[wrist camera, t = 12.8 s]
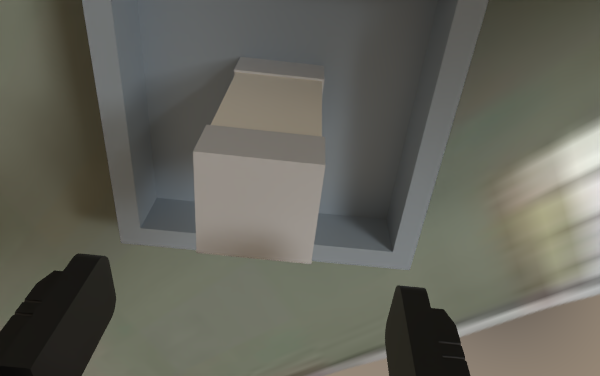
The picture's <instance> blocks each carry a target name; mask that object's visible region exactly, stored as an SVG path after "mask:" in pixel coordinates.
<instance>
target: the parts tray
mask: <svg viewBox="0 0 600 376" xmlns="http://www.w3.org/2000/svg"><path fill="white" fill-rule="evenodd" d="M488 1H489V0H82V4H83V10H84V16H85V22H86V29H87V35H88V41H89V47H90V54H91V60H92V66H93V72H94V78H95V85H96V91H97V97H98V103H99V109H100V116H101V122H102V128H103V134H104V140H105V147H106V153H107V159H108V165H109V171H110V178H111V184H112V190H113V196H114V203H115V209H116V215H117V221H118V227H119V234H120V240H121V243H126V244H137V245H147V246H158V247H169V248H179V249H190V250H196V222H195V194H194V166H193V150H194V148H195V146H196V144H197V142H198V140H199V138H200V136H201V134H202V132H203V130H204V128H205V127H206V125H211V123H212V121H213V119H214V117H215V115H216V113H217V111H218V109H219V106H220V104H221V102H222V100H223V98H224V96H225V94H226V92H227V90H228V88H229V86H230V84H231V82H232V80H233V78H234V69H235V67H236V65H237V63H238V61H239V59H240V57H248V58H257V59H266V60H276V61H285V62H294V63H303V64H313V65H322V66H324V86H323V94H322V137H325V172H324V179H323V185H322V192H321V199H320V206H319V213H318V220H317V227H316V234H315V240H314V247H313V254H312V261H318V262H329V263H339V264H350V265H361V266H371V267H382V268H392V269H403V270H410V267H411V264H412V260H413V257H414V254H415V250H416V247H417V243H418V240H419V237H420V233H421V230H422V226H423V223H424V220H425V216H426V213H427V209H428V206H429V202H430V199H431V196H432V192H433V189H434V185H435V182H436V179H437V175H438V172H439V168H440V165H441V162H442V158H443V155H444V151H445V148H446V145H447V141H448V138H449V134H450V131H451V127H452V124H453V121H454V117H455V114H456V110H457V107H458V104H459V100H460V97H461V93H462V90H463V87H464V83H465V80H466V76H467V73H468V70H469V66H470V63H471V59H472V56H473V52H474V49H475V46H476V42H477V39H478V35H479V32H480V29H481V25H482V22H483V18H484V15H485V12H486V8H487V5H488Z"/></svg>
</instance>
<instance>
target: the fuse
mask: <svg viewBox="0 0 600 376" xmlns="http://www.w3.org/2000/svg"><path fill="white" fill-rule="evenodd" d="M323 86H324V66H322V65H313V64H303V63H294V62H285V61H276V60H266V59H257V58H248V57H240V59H239V61H238V63H237V65H236V67H235V69H234V78H233V80H232V82H231V84H230V86H229V88H228V90H227V92H226V94H225V96H224V98H223V100H222V102H221V104H220V106H219V109H218V111H217V113H216V115H215V117H214V119H213V121H212V123H211V125H206V127H205V128H204V130H203V132H202V134H201V136H200V138H199V140H198V142H197V144H196V146H195V148H194V150H193V166H194V194H195V222H196V250H197V253H205V254H216V255H226V256H236V257H246V258H256V259H266V260H276V261H286V262H296V263H306V264H311V261H312V254H313V247H314V240H315V234H316V227H317V220H318V213H319V206H320V199H321V192H322V185H323V179H324V172H325V137H322V94H323Z"/></svg>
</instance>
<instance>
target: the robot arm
mask: <svg viewBox="0 0 600 376" xmlns="http://www.w3.org/2000/svg"><path fill="white" fill-rule="evenodd" d="M115 303H116V294H115V289H114V284H113V279H112V274H111V269H110V264H109V260H108V258H107V257H106V256H99V255H89V254H76V255H75V256H74V257H73V258H72V260H71V261H70V262H69V264H68V265H67V267H66V268H65V269H64V271H53V272H52V273H51V274H49V275H48V276H46V277H45V278H44V279H42V280H41V281H39V282H38V283H37V284H36V285H35V286H34V288H33V289H32V290H31V292H30V293H29V294H28V296H27V297H26V298H25V302H22V304H21V305H20V306H19V308H18V309H17V310H16V312H15V315H13V316H12V317H11V318H10V319H9V321H8V322H7V323H6V325H5V326H4V327H3V329H2V330H1V331H0V376H82V374H83V372H84V370H85V368H86V366H87V364H88V362H89V360H90V358H91V356H92V355H93V353H94V351H95V349H96V347H97V345H98V343H99V341H100V339H101V337H102V335H103V333H104V331H105V329H106V327H107V326H108V324H109V322H110V320H111V318H112V315H113V313H114V309H115ZM385 345H386V354H387V362H388V370H389V376H470V373H469V369H468V366H467V362H466V361H465V356H464V352H463V349H462V346H461V342H460V338H459V335H458V331H457V328H456V325H455V324H454V322H453V321H452V320H451V318H450V317H449V316H448V314H447V313H446V312H445V310H444V309H435V308H431V307H430V303H429V299H428V294H427V291H426V289H425V288H419V287H409V286H397V287H396V289H395V293H394V297H393V300H392V304H391V308H390V312H389V315H388V319H387V323H386V331H385Z"/></svg>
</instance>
